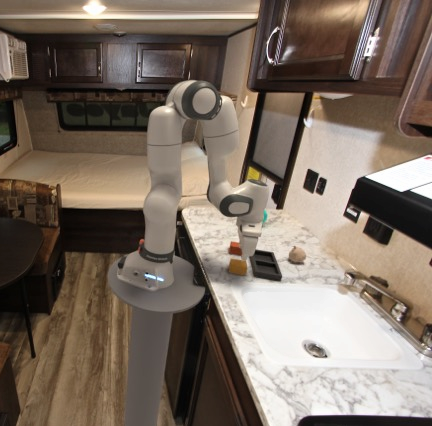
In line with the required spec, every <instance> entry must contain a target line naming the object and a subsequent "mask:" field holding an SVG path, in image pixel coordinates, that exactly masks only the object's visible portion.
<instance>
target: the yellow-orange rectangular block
mask: <svg viewBox="0 0 432 426" xmlns="http://www.w3.org/2000/svg"><path fill="white" fill-rule="evenodd" d="M247 263H248V262H247V260H246V261H242V260H241V259H236V258H230V259H229V264H228V272H229V274H236V275H241V276H246V274H247V270H248V264H247Z"/></svg>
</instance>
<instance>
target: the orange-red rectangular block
mask: <svg viewBox="0 0 432 426" xmlns="http://www.w3.org/2000/svg"><path fill="white" fill-rule="evenodd" d="M228 249H229V254H230V255H235V256H240V257H241V255H242V251H241V248H239V241H230V244H229V248H228Z"/></svg>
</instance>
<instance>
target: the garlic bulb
mask: <svg viewBox="0 0 432 426" xmlns="http://www.w3.org/2000/svg"><path fill="white" fill-rule="evenodd" d="M288 258H289V260H290V261H291V262H293V263H303V262H304V261H305V260H306V259H307V253H306V252H305V250H304V249H302V248H300V247H298V246H296V245H293V246H292V248H291V250H290V251H289V253H288Z"/></svg>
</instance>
